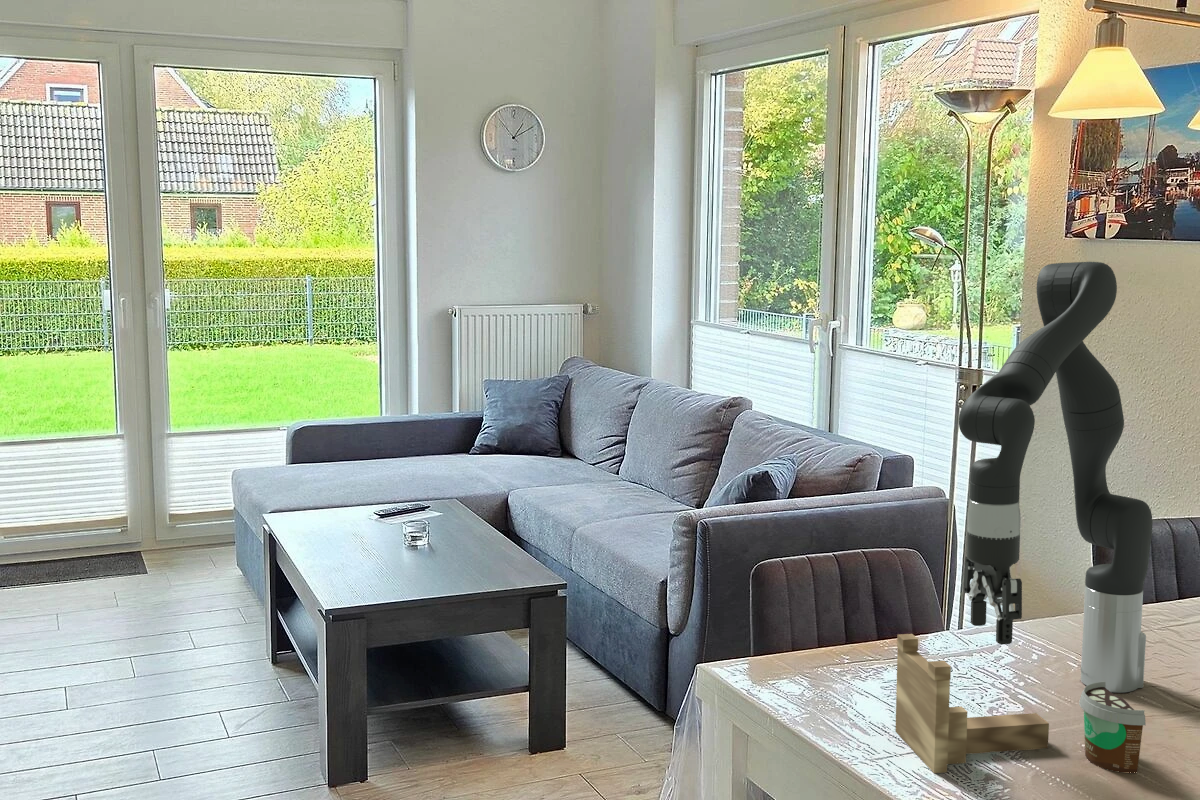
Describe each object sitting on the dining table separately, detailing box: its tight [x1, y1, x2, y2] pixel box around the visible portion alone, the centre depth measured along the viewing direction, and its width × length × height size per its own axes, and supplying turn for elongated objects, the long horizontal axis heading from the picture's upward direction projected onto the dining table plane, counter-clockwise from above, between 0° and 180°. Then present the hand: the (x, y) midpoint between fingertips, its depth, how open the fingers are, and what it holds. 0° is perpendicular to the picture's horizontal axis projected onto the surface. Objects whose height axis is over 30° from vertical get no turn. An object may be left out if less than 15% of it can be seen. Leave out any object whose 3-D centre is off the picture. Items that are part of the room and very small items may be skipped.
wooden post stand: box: [895, 633, 968, 774], centre depth 182 cm, size 6×15×16 cm, turn 8°
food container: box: [1078, 681, 1146, 774], centre depth 179 cm, size 12×6×10 cm, turn 5°
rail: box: [966, 712, 1050, 755], centre depth 184 cm, size 18×4×6 cm, turn 98°
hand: (990, 633), depth 182 cm, fingers open, 8 cm apart
